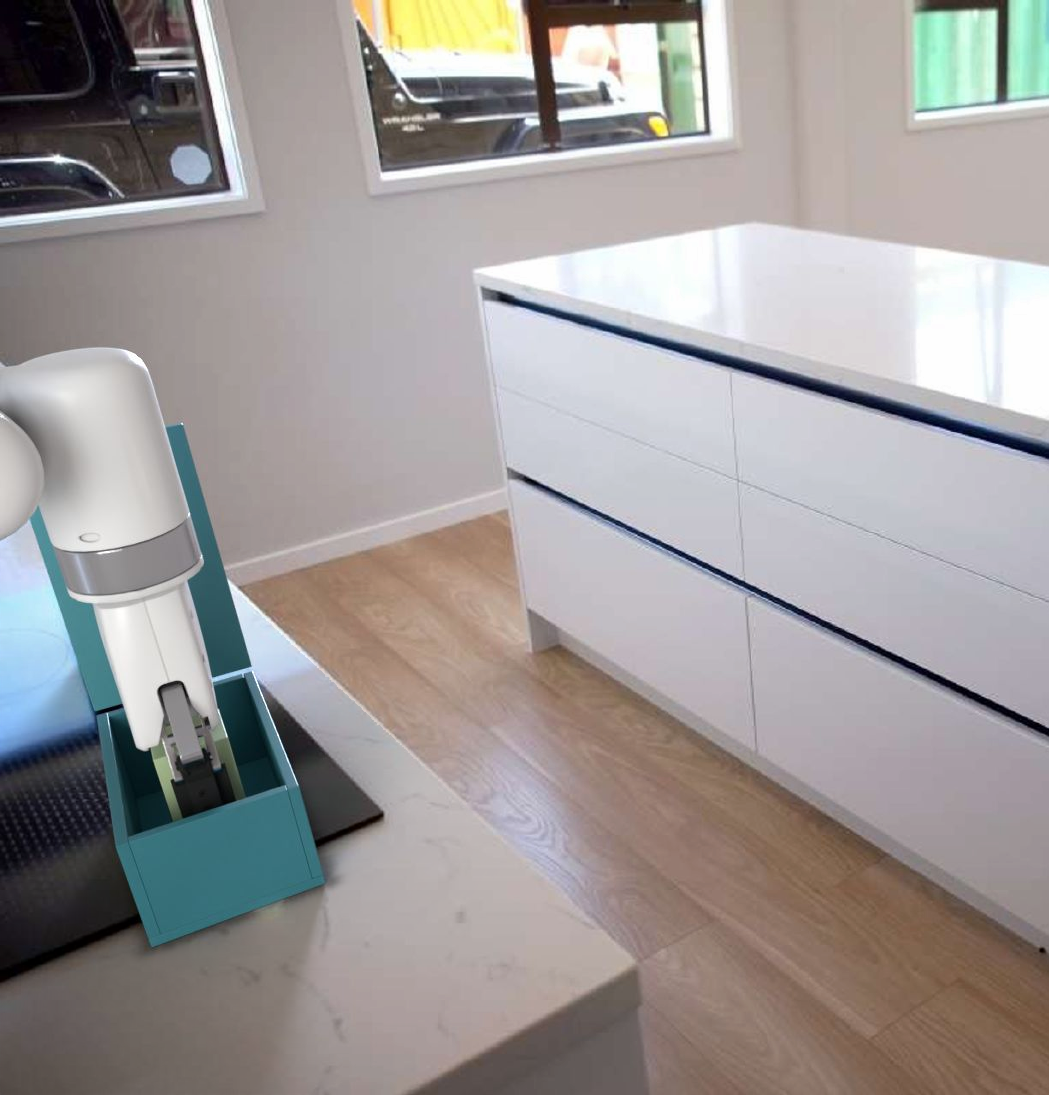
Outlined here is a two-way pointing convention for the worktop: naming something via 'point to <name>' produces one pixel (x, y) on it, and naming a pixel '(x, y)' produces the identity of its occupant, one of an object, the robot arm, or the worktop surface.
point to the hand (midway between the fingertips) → (206, 797)
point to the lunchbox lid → (204, 586)
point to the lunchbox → (210, 825)
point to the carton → (219, 741)
